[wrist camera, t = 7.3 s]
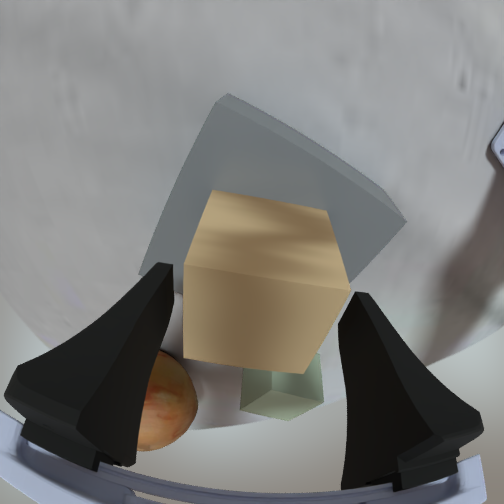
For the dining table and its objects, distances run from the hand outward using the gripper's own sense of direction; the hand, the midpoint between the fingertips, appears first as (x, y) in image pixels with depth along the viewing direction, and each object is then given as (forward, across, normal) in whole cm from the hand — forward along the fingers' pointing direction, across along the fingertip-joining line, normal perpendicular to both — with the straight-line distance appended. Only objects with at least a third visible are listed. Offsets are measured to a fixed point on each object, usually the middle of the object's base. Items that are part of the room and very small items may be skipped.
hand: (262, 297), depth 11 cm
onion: (+7, +8, +17) cm, 20 cm away
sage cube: (+7, -4, +14) cm, 16 cm away
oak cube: (+3, 0, 0) cm, 3 cm away
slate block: (+7, 0, 0) cm, 7 cm away
